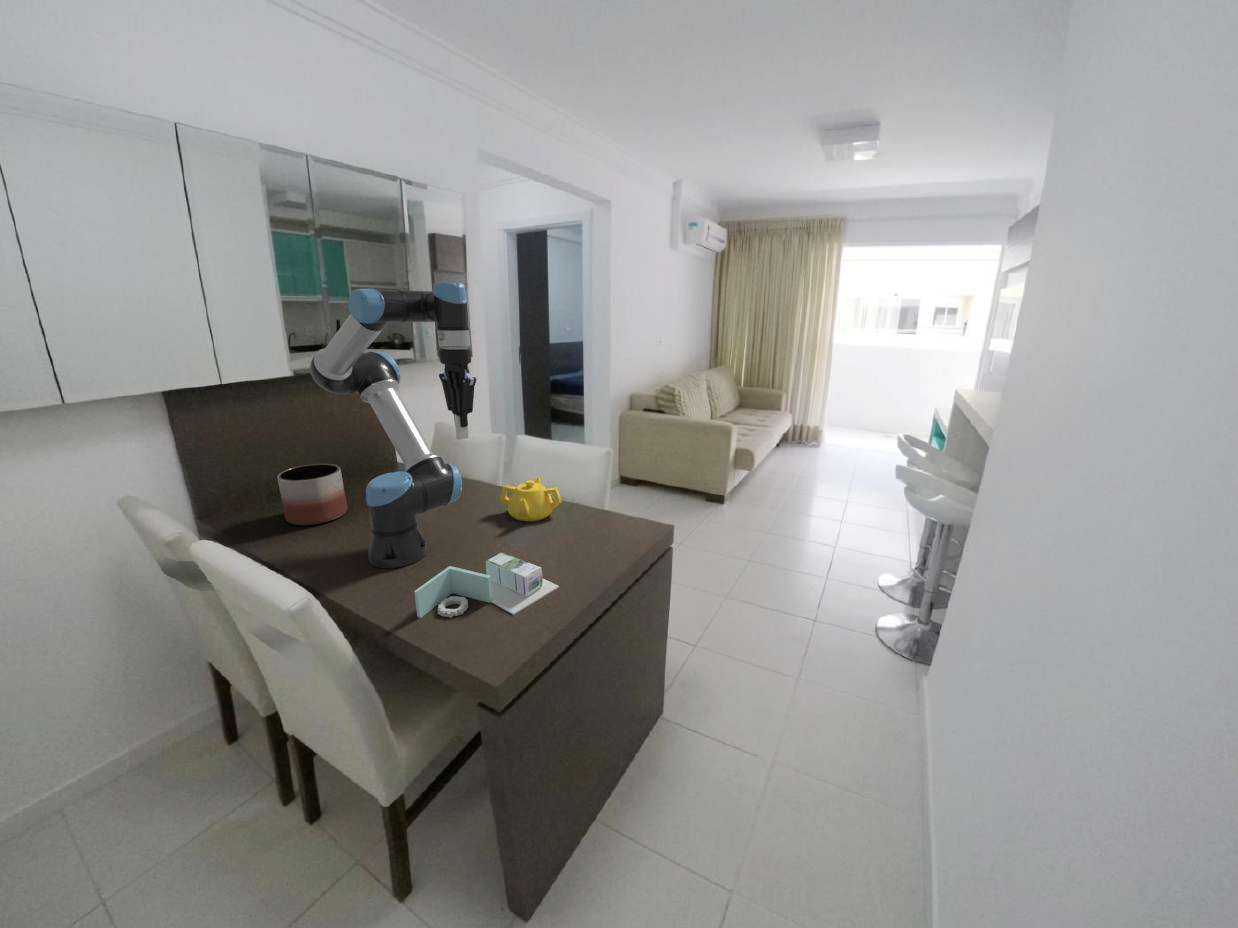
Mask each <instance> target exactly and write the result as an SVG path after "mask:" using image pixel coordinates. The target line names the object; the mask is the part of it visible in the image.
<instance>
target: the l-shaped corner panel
mask: <svg viewBox="0 0 1238 928" xmlns="http://www.w3.org/2000/svg"><path fill="white" fill-rule="evenodd" d="M413 593H414V600H415V609H416V615H417V618H419V619H422V618H423V617H424V616H425V615H426V614H428V613H429V612H430V611H432V610H433V609H435V607H436V606H438V607H437V614H438V615H440V616H441V617H445V618H450V619H451V618H453V617H455V616H456V617H457V616H460V615H464V612H466V611H467V610H468V608H469V600H468V599H467V598H470V599H473V600H478V601H480V602H484V603H490V604H491V603H492V602H491V600H492V585H491V576H489V575H487V574H485V573H481V572H476V571H473V570H468V569H465V568H464V569H463V568H459V567H456V566H451V565H449V566H447V567H446V568H444V569H443V570H442V571H441V572H439V573H438V574H436V575H435V576H433V577H432V578H431V579H428V581H427V582H425V583H423V585H421V586H419V587H418V588H417V589H415V590H413ZM451 594H455V595H457V596H454V595H453V596H451ZM466 597H467V598H466ZM452 605H459V606H458V607H457V608H447V607H448V606H452Z"/></svg>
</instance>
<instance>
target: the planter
mask: <svg viewBox="0 0 1238 928" xmlns="http://www.w3.org/2000/svg"><path fill="white" fill-rule="evenodd" d="M342 476H343V475H342V470H341V468H340V466H338V465H337V464H332V463H313V464H305V465H299V466H295V467H291V468H288V469H285V470H283V471H281V472H279V473H278V474H277V477H276V478H277V482H278V483H277V484H278V487H279V492H280V498H281V503H282V507H283V513H284V517H285V521H286V522H287V523H289V524H292V525H296V526H316V525H320V524H325V523H328V522H332V521H335V520H336V519H339V518H340V517H342V516H343V515H345V513H346V512H347V511H348V503H347V502H348V501H347V498H346V492H345V486H344V482H343V477H342Z"/></svg>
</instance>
